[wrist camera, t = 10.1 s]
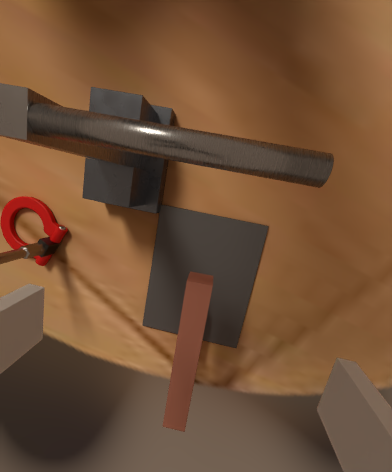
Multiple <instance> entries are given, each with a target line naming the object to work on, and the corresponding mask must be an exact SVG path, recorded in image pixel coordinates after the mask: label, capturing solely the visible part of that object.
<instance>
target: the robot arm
mask: <svg viewBox="0 0 392 472" xmlns="http://www.w3.org/2000/svg"><path fill="white" fill-rule="evenodd" d="M43 312H44V287H41V286H37V285H32V284H27V285H25V286H23V287H21V288H19V289H17V290H15V291H13V292H11V293H9V294H7V295H5V296H3V297H1V298H0V374H1V373H2V372H3V371H4V370H5V369H7V368H8V367H9V366H10V365H12V364H13V363H14V362H15V361H16V360H18V359H19V358H20V357H21V356H22V355H24V354H25V353H26V352H27V351H28V350H30V349H31V348H32V347H33V346H34V345H35V344H37V343H38V342H39V341H40V340H42V337H43ZM317 411H318V414H319V416H320V418H321V421H322V423H323V425H324V428H325V430H326V432H327V435H328V437H329V439H330V442H331V444H332V446H333V449H334V451H335V453H336V455H337V458H338V460H339V462H340V465H341V467H342V470H343V472H392V408H391V407H390V405H389V404H388V403H387V402H386V400H385V399H384V398H383V396H382V395H381V394H380V393H379V391H378V390H377V389H376V387H375V386H374V385H373V383H372V382H371V381H370V380H369V378H368V377H367V376H366V374H365V373H364V372H363V371H362V369H361V368H360V367H359V365H358V364H357V363H356V362H354V361H350V360H346V359H341V358H336V361H335V363H334V366H333V369H332V371H331V374H330V376H329V379H328V381H327V384H326V387H325V389H324V392H323V394H322V397H321V399H320V402H319V405H318V407H317Z"/></svg>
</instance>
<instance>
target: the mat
mask: <svg viewBox="0 0 392 472" xmlns="http://www.w3.org/2000/svg"><path fill="white" fill-rule="evenodd" d="M268 227H269V226H265V225H260V224H255V223H250V222H245V221H240V220H236V219H231V218H226V217H221V216H216V215H211V214H206V213H201V212H196V211H191V210H186V209H181V208H176V207H171V206H166V205H161V208H160V215H159V221H158V228H157V234H156V241H155V247H154V254H153V260H152V267H151V273H150V280H149V286H148V293H147V299H146V306H145V312H144V319H143V326H147V327H151V328H155V329H159V330H164V331H168V332H172V333H176V334H178V331H179V325H180V319H181V313H182V307H183V301H184V295H185V289H186V283H187V279H188V276H189V273H190V271H191V272H196V273H201V274H206V275H211V276H213V287H212V293H211V298H210V303H209V308H208V313H207V318H206V324H205V329H204V334H203V339H202V340H204V341H208V342H212V343H216V344H220V345H225V346H229V347H233V348H237V344H238V340H239V336H240V333H241V329H242V325H243V321H244V317H245V314H246V310H247V306H248V302H249V299H250V295H251V291H252V287H253V283H254V280H255V276H256V272H257V268H258V265H259V261H260V257H261V253H262V249H263V246H264V242H265V238H266V234H267V230H268Z"/></svg>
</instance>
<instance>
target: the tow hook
mask: <svg viewBox="0 0 392 472" xmlns="http://www.w3.org/2000/svg"><path fill="white" fill-rule="evenodd" d="M23 208H30V209H32V210H34V211H35V212H36V213H37V214H38V215H39V216H40V218H41V220H42V222H43V225H44V232H45V233H46V234H47V235H49V236H50V237H47V238H42V239H39V241H38V243H34V244H27V243H25V242H23V241H22V240H21V239H20V238H19V237H18V236H17V234H16V232H15V228H14V218H15V216H16V214H17V212H18V211H19V210H21V209H23ZM1 229H2V232H3V235H4V237H5V239H6V241H7V242H8V244H9V245H10V246H11V247H12V248H13V249H14V250H12V251H7V252H3V253H0V264H3V263H6V262H10V261H14V260H17V259H21V258H24V259H28V258H31V257H34V258H35V259H36V263H37V264H38V265H41V266H44V265H46V264H47V262H48V261H49V259H50V257H51V256H52V254H54V253H55V251H56V249H57V248H58V246H59V245H60V243H61V240H62V239H63V237H64V235H65V234H66V232H67V231H68V229H67V228H66V227H65V226H63V225H59V224H57V223H56V221H55V218H54V216H53V214H52V212H51V210H50V209H49V208H48V207H47V205H46V204H44V203H43V202H42V201H40V200H38V199H36V198H33V197H17V198H14V199H13V200H11V201H9V202H8V203H7V205H6V206H5V207H4V209H3V212H2V215H1Z"/></svg>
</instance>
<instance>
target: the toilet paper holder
mask: <svg viewBox="0 0 392 472" xmlns="http://www.w3.org/2000/svg"><path fill="white" fill-rule="evenodd" d="M175 115H176V114H175V113H174V111H173V110H172V108H166V107H160V106H154V105H150V104H149V103H148V101H147V100H146V99H145V98H144V97H143V95H137V94H131V93H125V92H119V91H113V90H107V89H101V88H95V87H91V94H90V107H89V111H84V110H79V109H73V108H67V107H63V106H61V105H59V104H57V103H55V102H53V101H51V100H50V99H48V98H46V97H44V96H42V95H40V94H38V93H36V92H35V91H33V90H31V89H29V88H25V87H19V86H13V85H8V84H2V83H0V136H2V137H6V138H10V139H14V140H18V141H22V142H26V143H30V144H34V145H38V146H42V147H46V148H50V149H54V150H58V151H62V152H66V153H70V154H74V155H78V156H82V157H87V158H86V160H85V173H84V186H83V198H85V199H89V200H94V201H98V202H103V203H108V204H113V205H117V206H122V207H127V208H132V209H137V210H142V211H147V212H151V213H159V212H160V208H161V205H162V199H163V192H164V186H165V179H166V173H167V167H168V160H173V161H178V162H184V163H189V164H194V165H200V166H205V167H211V168H216V169H221V170H227V171H232V172H237V173H243V174H248V175H253V176H259V177H264V178H269V179H275V180H280V181H286V182H291V183H296V184H302V185H307V186H312V187H318V188H320V187H322V186H323V185H324V184H325V182H326V181H327V179H328V178H329V176H330V173H331V171H332V167H333V162H334V158H333V155H332V154H330V153H325V152H319V151H313V150H308V149H302V148H296V147H290V146H285V145H279V144H273V143H268V142H262V141H256V140H250V139H245V138H239V137H233V136H227V135H222V134H216V133H210V132H205V131H199V130H193V129H187V128H182V127H176V126H174V121H175ZM88 158H91V159H88ZM94 159H95V160H94Z"/></svg>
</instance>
